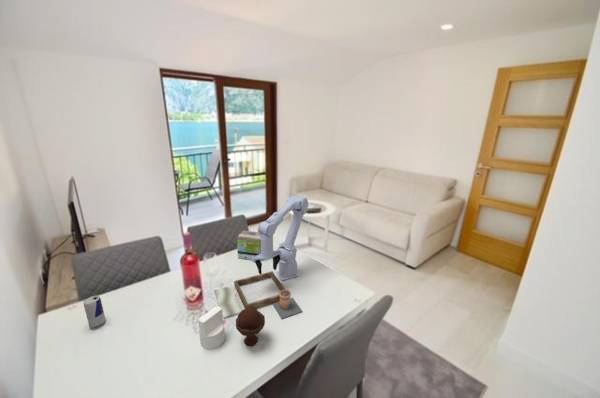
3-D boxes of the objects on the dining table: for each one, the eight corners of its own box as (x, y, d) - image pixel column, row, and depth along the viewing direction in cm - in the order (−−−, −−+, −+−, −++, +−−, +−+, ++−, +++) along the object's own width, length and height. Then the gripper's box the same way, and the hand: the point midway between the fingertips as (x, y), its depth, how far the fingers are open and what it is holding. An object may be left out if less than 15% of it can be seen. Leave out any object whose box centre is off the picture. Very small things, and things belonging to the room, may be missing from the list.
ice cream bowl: (270, 335, 104) (270, 303, 99) (254, 357, 94) (253, 323, 90) (248, 326, 108) (247, 295, 104) (230, 346, 98) (228, 313, 94)
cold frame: (272, 276, 142) (272, 271, 141) (288, 298, 125) (288, 293, 124) (214, 291, 128) (214, 286, 128) (223, 319, 111) (223, 313, 110)
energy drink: (109, 321, 108) (103, 297, 105) (95, 331, 104) (89, 305, 100) (100, 318, 110) (93, 293, 106) (86, 327, 105) (79, 302, 102)
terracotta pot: (282, 301, 122) (282, 288, 120) (292, 305, 120) (292, 291, 118) (276, 308, 117) (276, 295, 115) (287, 312, 115) (287, 298, 113)
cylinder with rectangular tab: (211, 353, 95) (208, 326, 92) (195, 342, 100) (192, 316, 96) (229, 336, 103) (228, 311, 99) (214, 327, 107) (211, 302, 104)
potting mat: (292, 298, 125) (292, 297, 125) (302, 312, 117) (302, 311, 116) (272, 304, 120) (272, 303, 120) (281, 319, 112) (281, 318, 112)
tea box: (237, 259, 158) (236, 236, 153) (243, 251, 167) (242, 229, 163) (261, 261, 156) (261, 239, 151) (266, 253, 165) (266, 231, 161)
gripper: (277, 239, 132) (277, 263, 136) (249, 245, 125) (250, 270, 129) (283, 245, 126) (283, 270, 130) (254, 252, 119) (255, 278, 123)
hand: (267, 271), depth 129 cm, fingers open, 7 cm apart
